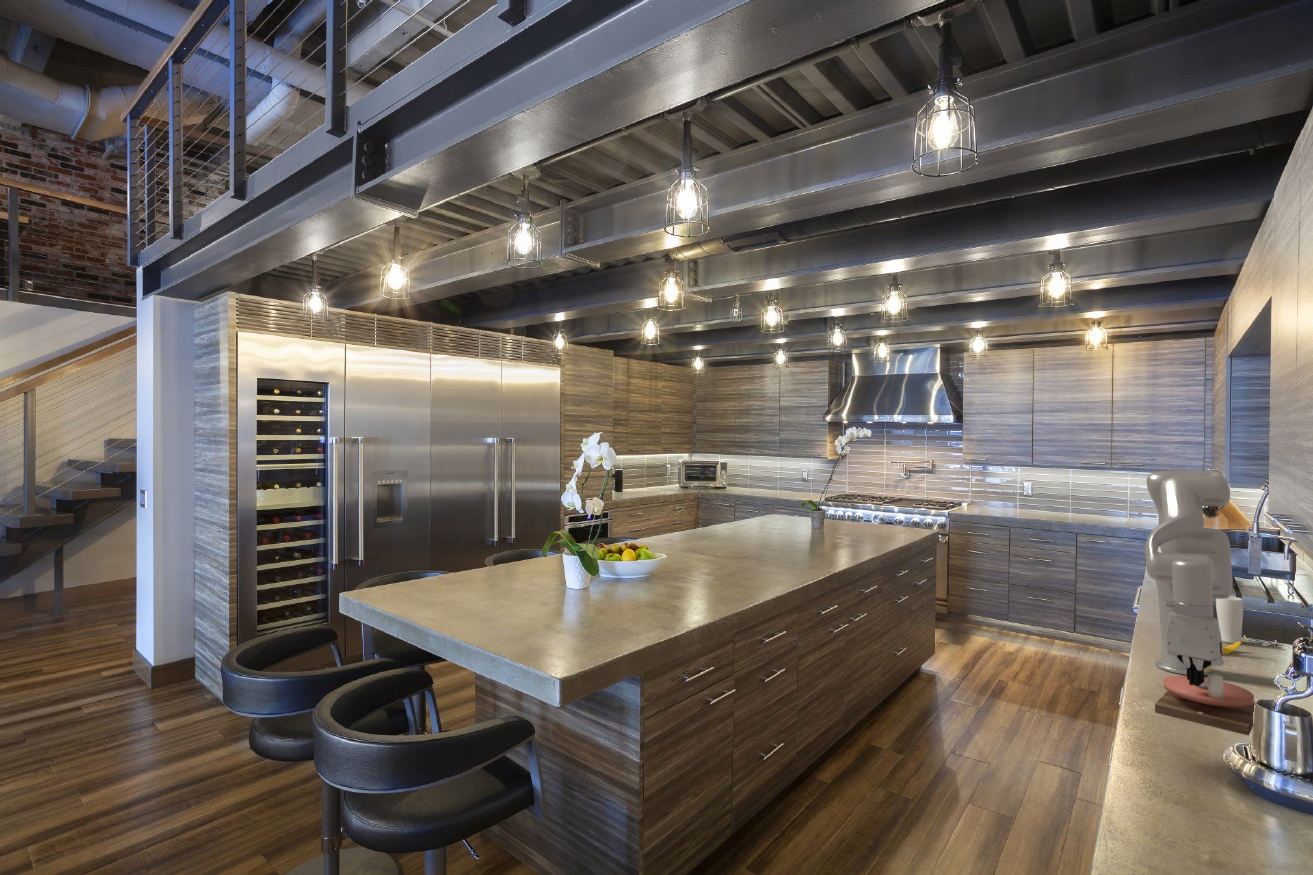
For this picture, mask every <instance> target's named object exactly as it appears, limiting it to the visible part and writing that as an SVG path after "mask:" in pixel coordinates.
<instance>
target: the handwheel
mask: <svg viewBox="0 0 1313 875" xmlns="http://www.w3.org/2000/svg"><path fill="white" fill-rule="evenodd" d="M1206 676H1207V677H1204V683H1202V684H1201V685H1200V686H1198V687H1197V686H1195V685H1190V684H1189V680H1187V675H1173V676H1172V675H1170V676H1167V677H1165V678H1163V687H1164V689H1165V690H1166V692H1167V691H1169V692H1170V693H1172V694H1174V695H1177V696H1179V697H1182V698H1185V699H1188V700H1192V701H1195V702H1199V703H1204V704H1209V705H1215V706H1223V707H1248V706H1251V705H1253V704H1254V702H1255V696H1254V693H1252V692H1251V691H1249V690H1248V689H1246V688H1245V687H1244V688H1243V687H1241V686H1239V685H1236V684H1234V683H1229V682H1226V681H1224V676H1222V675H1219V674H1216V673H1215V674H1214V673H1210V674H1208V675H1206Z"/></svg>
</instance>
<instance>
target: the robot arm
mask: <svg viewBox="0 0 1313 875" xmlns="http://www.w3.org/2000/svg"><path fill="white" fill-rule="evenodd" d="M1146 487H1147V491H1148V494H1149V496H1150V497H1151V500H1152V501H1153V504H1154V506H1155V508H1156V510H1157V515H1158V517H1157V518H1158V525H1157V526H1156V527H1155V528H1154V529H1153V530H1152V531H1151V532H1150V533H1149V535H1148V537H1147V539H1146V541H1145V549H1144V550H1145V551H1144V552H1145V554H1144V555H1145V566H1146V573H1147V574H1148V576H1149V578H1151V579H1152V580H1154V581H1155V584H1156V589H1157V595H1158V603H1159V604H1158V605H1159V625H1160V628H1159V629H1160V631H1159V632H1160V653H1161V654H1160V656H1161V658H1158V659H1156V660H1155V661H1154V662H1155V663H1154V664H1155V666H1156V668H1159V669H1161V670H1164V671H1166V672H1170V673H1173V674H1177V675H1179V674H1180V675H1182V676H1187V680H1189V684H1190V685H1195V686H1197V687H1198V686H1200V685H1201V684H1202V683H1204V678H1205V677H1206V676H1207V675H1208V674H1211V669H1210V668H1209V667H1212V666H1213V667H1222V666H1223V665H1224V664H1225V663H1224V660H1223V655H1224V654H1223V647H1224V646H1223V641H1222V638H1221V632H1220V628H1219V624H1218V617H1215V616H1214V599H1215V600H1216V599H1225V598H1228V597H1229V596H1232V593H1233V570H1232V552H1231V544H1230V543H1231V542H1230V539H1229V537H1228V535H1227V533H1226V532H1224V531H1223V530H1221V529H1217V528H1213V527H1212V528H1210V527H1209V528H1208V527H1205V518H1204V512H1203V511H1204V510H1203V507H1226V506H1227V505H1228V504H1229V502H1230V499H1231V490H1230V489H1231V488H1230V484H1229V482H1228V480H1227V478H1225V476H1224V475H1223V474H1222V473H1220V472H1219V471H1216V470H1161V471H1160V470H1159V471H1155V472H1150V473H1149V474H1148V475H1147V477H1146ZM1159 548H1160V551H1159Z"/></svg>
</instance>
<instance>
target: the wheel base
mask: <svg viewBox="0 0 1313 875" xmlns="http://www.w3.org/2000/svg"><path fill="white" fill-rule="evenodd" d="M1255 703H1256V701H1254V704H1253V705H1251V706H1248V707H1223V706H1215V705H1209V704H1204V703H1199V702H1195V701H1192V700H1188V699H1185V698H1182V697H1179V696H1177V695H1174V694H1172V693H1170V692H1169V691H1167V690H1166V692H1165V693H1164V694H1163V695H1162V696H1161V697H1160V698H1159V699H1158V700H1157V702H1155V703H1154V712H1155V714H1156V713H1157V714H1160V715H1164V716H1168V717H1173V718H1176V719H1181V720H1185V721H1189V722H1193V723H1198V724H1202V725H1204V726H1205V725H1206V726H1210V727H1214V728H1218V729H1222V730H1226V731H1230V732H1234V733H1239V734H1243V735H1247V736H1249V735H1250V734H1251V731H1252V730H1253V728H1254V726H1253V712H1254V705H1255ZM1252 727H1253V728H1252Z"/></svg>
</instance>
